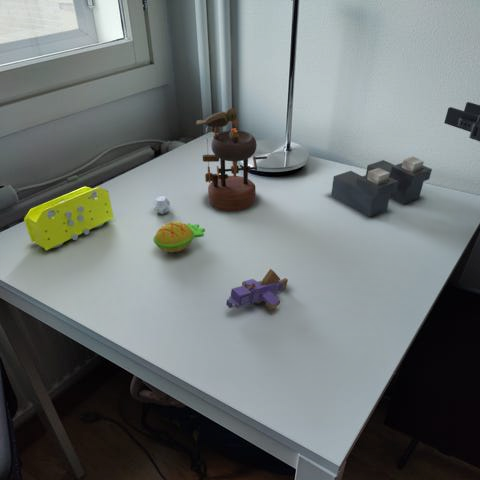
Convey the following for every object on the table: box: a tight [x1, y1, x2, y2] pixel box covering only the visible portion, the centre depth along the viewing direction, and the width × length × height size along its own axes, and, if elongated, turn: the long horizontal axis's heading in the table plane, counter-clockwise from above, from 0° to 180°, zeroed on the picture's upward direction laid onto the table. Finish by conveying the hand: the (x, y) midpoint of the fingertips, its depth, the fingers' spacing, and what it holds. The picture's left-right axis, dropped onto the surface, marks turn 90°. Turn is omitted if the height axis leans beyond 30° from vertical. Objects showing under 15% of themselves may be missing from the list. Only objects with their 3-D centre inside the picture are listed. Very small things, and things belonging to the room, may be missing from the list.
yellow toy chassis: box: [23, 186, 115, 251], centre depth 90 cm, size 16×6×8 cm, turn 140°
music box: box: [195, 107, 268, 212], centre depth 98 cm, size 15×11×20 cm
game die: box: [152, 195, 171, 215], centre depth 99 cm, size 4×4×3 cm
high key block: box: [330, 170, 398, 218], centre depth 99 cm, size 13×6×7 cm, turn 34°
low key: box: [402, 156, 425, 173], centre depth 99 cm, size 3×3×2 cm
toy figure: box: [225, 268, 289, 311], centre depth 75 cm, size 12×8×5 cm
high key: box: [367, 168, 390, 185], centre depth 94 cm, size 3×3×2 cm
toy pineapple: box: [152, 221, 206, 253], centre depth 87 cm, size 7×10×5 cm
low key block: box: [365, 159, 433, 205], centre depth 104 cm, size 13×6×7 cm, turn 34°
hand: (456, 112), depth 86 cm, fingers open, 4 cm apart
